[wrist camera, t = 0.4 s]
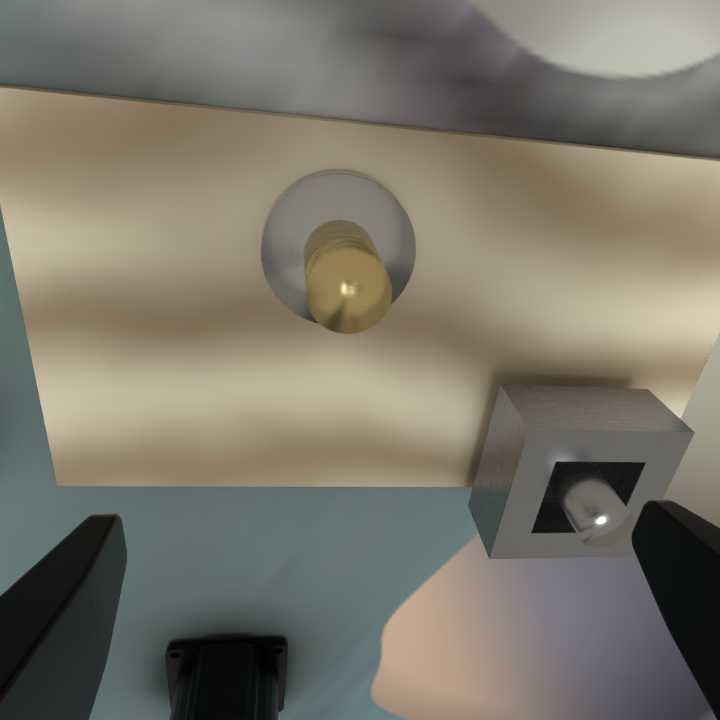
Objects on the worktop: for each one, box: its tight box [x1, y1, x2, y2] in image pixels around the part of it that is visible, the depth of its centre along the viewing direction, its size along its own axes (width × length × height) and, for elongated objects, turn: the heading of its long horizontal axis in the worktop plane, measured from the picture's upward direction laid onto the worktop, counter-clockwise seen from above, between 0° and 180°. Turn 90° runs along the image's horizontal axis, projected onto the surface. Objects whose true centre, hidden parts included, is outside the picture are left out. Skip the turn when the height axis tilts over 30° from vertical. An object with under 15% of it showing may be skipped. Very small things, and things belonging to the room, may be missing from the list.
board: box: [0, 84, 720, 487], centre depth 22 cm, size 15×27×1 cm, turn 84°
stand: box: [548, 461, 634, 548], centre depth 22 cm, size 4×4×6 cm
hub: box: [261, 169, 416, 334], centre depth 17 cm, size 5×5×4 cm
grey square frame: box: [468, 384, 694, 559], centre depth 22 cm, size 6×6×3 cm
